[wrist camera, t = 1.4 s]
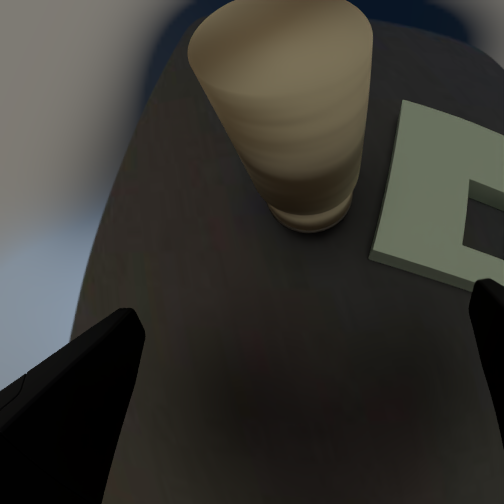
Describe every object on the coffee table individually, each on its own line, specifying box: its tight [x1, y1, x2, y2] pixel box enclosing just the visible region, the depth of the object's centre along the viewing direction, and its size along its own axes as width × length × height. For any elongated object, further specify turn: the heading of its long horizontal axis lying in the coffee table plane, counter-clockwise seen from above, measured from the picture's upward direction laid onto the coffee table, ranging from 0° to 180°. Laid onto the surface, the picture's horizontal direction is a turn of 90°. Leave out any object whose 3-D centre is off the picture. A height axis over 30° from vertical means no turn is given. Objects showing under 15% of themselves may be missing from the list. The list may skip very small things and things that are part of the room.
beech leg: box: [188, 0, 373, 233], centre depth 15 cm, size 6×6×15 cm
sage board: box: [368, 100, 504, 292], centre depth 18 cm, size 12×16×2 cm
